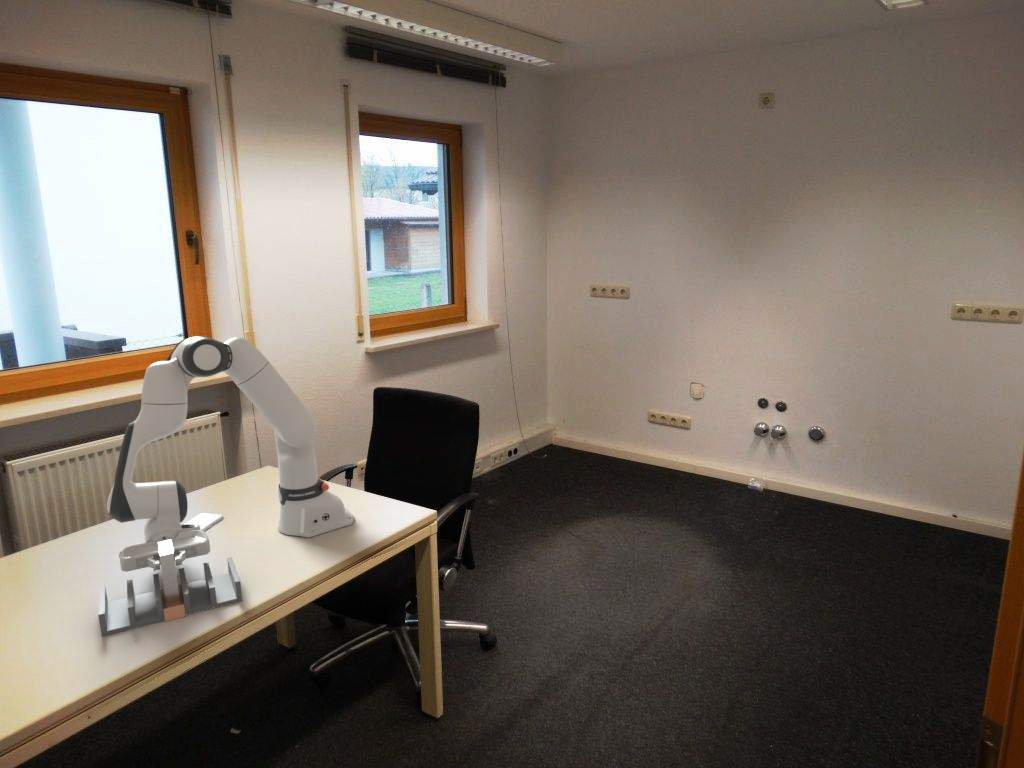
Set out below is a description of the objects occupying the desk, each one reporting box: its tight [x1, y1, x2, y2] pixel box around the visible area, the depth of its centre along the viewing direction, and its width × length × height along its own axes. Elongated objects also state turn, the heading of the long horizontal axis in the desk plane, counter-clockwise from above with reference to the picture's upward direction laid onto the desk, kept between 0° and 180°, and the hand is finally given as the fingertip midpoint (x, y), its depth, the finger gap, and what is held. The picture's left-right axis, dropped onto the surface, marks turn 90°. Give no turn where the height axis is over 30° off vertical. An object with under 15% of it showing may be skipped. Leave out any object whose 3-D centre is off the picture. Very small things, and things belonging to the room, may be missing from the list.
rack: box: [97, 556, 243, 637], centre depth 167 cm, size 30×15×6 cm, turn 120°
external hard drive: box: [182, 512, 225, 532], centre depth 211 cm, size 2×8×12 cm
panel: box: [158, 540, 181, 608], centre depth 166 cm, size 3×8×14 cm, turn 30°
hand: (167, 565), depth 166 cm, fingers open, 3 cm apart
